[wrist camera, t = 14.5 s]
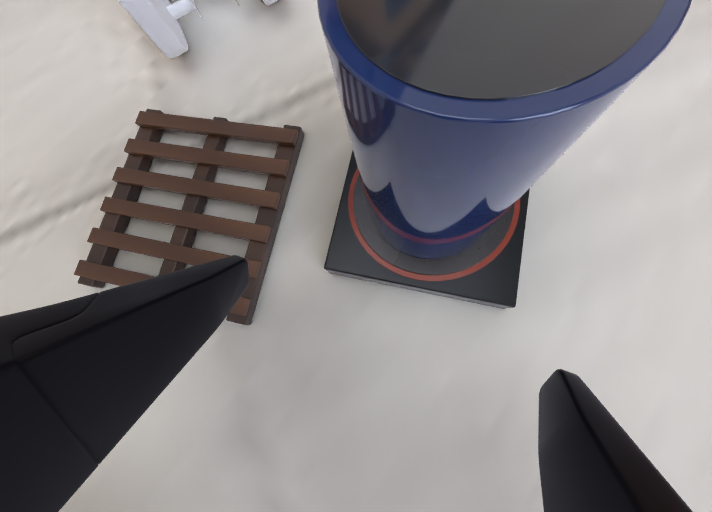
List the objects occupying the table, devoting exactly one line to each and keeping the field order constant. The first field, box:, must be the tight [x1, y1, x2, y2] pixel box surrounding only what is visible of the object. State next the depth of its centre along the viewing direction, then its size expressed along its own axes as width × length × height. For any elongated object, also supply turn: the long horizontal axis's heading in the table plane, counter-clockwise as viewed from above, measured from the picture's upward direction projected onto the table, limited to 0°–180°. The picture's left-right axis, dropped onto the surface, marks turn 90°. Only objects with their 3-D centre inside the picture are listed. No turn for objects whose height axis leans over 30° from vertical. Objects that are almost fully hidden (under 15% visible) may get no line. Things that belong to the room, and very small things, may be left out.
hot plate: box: [324, 151, 530, 309], centre depth 17 cm, size 10×10×2 cm
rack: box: [74, 109, 304, 325], centre depth 20 cm, size 13×12×1 cm
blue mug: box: [317, 0, 692, 259], centre depth 11 cm, size 10×7×11 cm
